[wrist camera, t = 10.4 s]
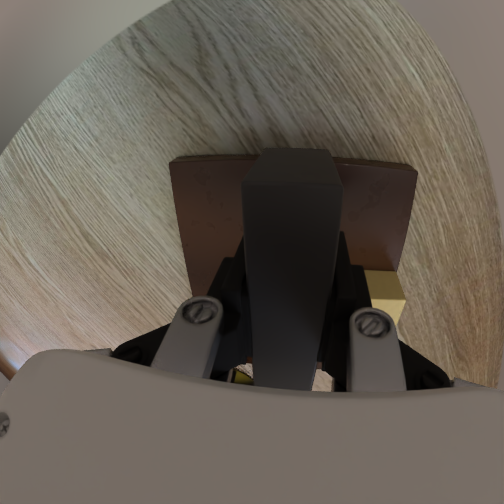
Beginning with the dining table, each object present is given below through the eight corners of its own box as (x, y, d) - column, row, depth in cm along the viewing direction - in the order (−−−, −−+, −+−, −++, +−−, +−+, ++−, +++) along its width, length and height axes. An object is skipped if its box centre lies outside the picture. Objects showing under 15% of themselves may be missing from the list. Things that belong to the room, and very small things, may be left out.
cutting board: (177, 156, 19) (167, 162, 17) (410, 165, 16) (418, 171, 15) (211, 347, 29) (207, 357, 28) (360, 359, 27) (361, 370, 25)
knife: (264, 147, 9) (239, 181, 6) (329, 149, 9) (344, 185, 6) (267, 421, 20) (259, 464, 16) (295, 423, 19) (289, 467, 16)
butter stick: (302, 266, 20) (301, 295, 17) (396, 271, 19) (406, 300, 16) (298, 316, 23) (296, 346, 20) (380, 319, 21) (386, 349, 19)
